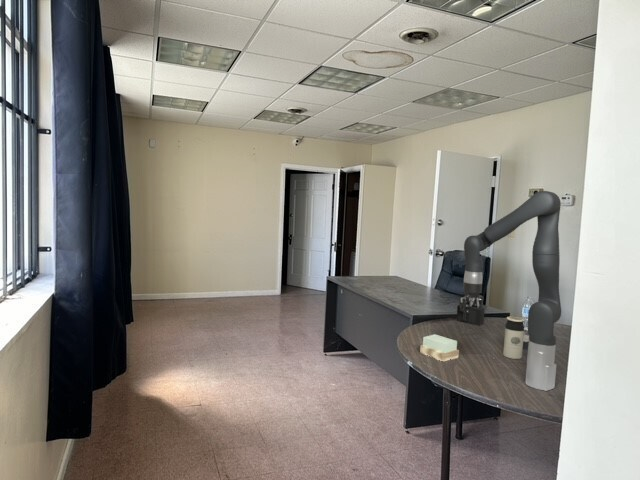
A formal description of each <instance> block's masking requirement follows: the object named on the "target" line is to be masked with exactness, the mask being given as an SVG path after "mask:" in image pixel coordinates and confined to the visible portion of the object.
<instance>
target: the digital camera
mask: <svg viewBox="0 0 640 480" xmlns="http://www.w3.org/2000/svg"><path fill="white" fill-rule="evenodd" d="M479 307H480V306H479ZM479 307H473V306H472V307H471V308H470V310H469V319H468V321H464V320H463V311H460V304H459V305H457V306H456V322H459V323H464V324H467V325H468V324H469V325H473V326H478V327H481V326H482V325H484V324H485V323H484V322H485V321H484V320H485V308H484V307H482V308H479ZM462 308H463V306H462ZM467 308H468V307H466V310H467Z"/></svg>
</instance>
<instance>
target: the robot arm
mask: <svg viewBox="0 0 640 480" xmlns="http://www.w3.org/2000/svg"><path fill="white" fill-rule="evenodd" d="M561 204H562V203H561V198H560V196H558V194H556V193H555V192H552V191H548V190H540V191H537V192H535V193H534V194H533V195H531V196H530V197H529V198H528V199H527V200H525V201H524V202H523V203H522V204H521V205H520V206H518V207H516V209H514V210H512V211H511V212H510V213H508V214H507V215H505V216H503V217H502V218H500V219H498V220H496V221H495V222H493V223H491V224H489V225H488V226H486V227H485V229H484V230H483V231H482V232H480V233H479V234H476V235H469V236H467V237H466V239H465V241H464V243H463V251H464V258H465V264H464V265H465V267H464V274H463V275H464V276H463V286H462V287H463V288H462V291H463V292H464V296H463V297H459V298H458V300H459V305H460V311H463V320H464V321H468V319H469V310H470V308H471V307H472V306H473V307H479V308H483V304H484V300H485V296H483V295H481V294H482V293H483V291H482V289H483V267H484V262H483V261H484V260H483V259H482V258H481V255H480V254H481V252H482V251H484V250H486V249H488V248H490V246H492V245H493V244H494V243H496V242H498V241H500V240H501V239H503V238H505V237H507V236H509V235H510V234H511V233H513V232H515V230H517V229H518V228H519V227H520V226H522V225H523V224H524V223H527V221H530V220H532V219H535V218H537V230H536V235H535V237H534V241H533V245H532V256H531V257H532V258H531V259H532V261H531V262H532V264H531V265H532V269H533V273H534V276H535V278H536V282H537V285H538V300H537V301H536V302H534V303H532V304H531V305H530V307H529V309H528V316H527V334H528V336H529V344H528V349H527V357H526V358H527V359H526V370H525V372H526V373H525V384H526V386H528V387H531V388H532V389H536V390H541V391H545V392H547V391H550V390H552V389H555V386H556V385H555V384H556V373H557V363H555V360H556V359H555V358H556V357H555V356H556V347H557V345H556V344H557V337H556V335H554V324H555V323H558V321H559V320H560V319H561V317H562V305H561V298H560V297H561V295H560V256H561V255H560V237H559V236H560V233H559V223H560V214H561V206H562V205H561ZM462 306H463V308H462ZM466 307H468V308H467V310H466Z"/></svg>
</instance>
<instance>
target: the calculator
mask: <svg viewBox="0 0 640 480" xmlns="http://www.w3.org/2000/svg"><path fill="white" fill-rule="evenodd" d="M528 344H529V334H528V335H527V334H524V338H523V350H524V349H525V350H528Z"/></svg>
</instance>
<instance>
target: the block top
mask: <svg viewBox="0 0 640 480" xmlns="http://www.w3.org/2000/svg"><path fill="white" fill-rule="evenodd" d="M422 339H423V340H422V345H423V346H425V347H428V348H431V349H434V350H437V351H440V352H443V353H448V352H451V351H454V350H458V349H457V347H458V340H455V339H451V338H448V337H446V336H441V335H438V334H430V335H427V336H423V337H422Z"/></svg>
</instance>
